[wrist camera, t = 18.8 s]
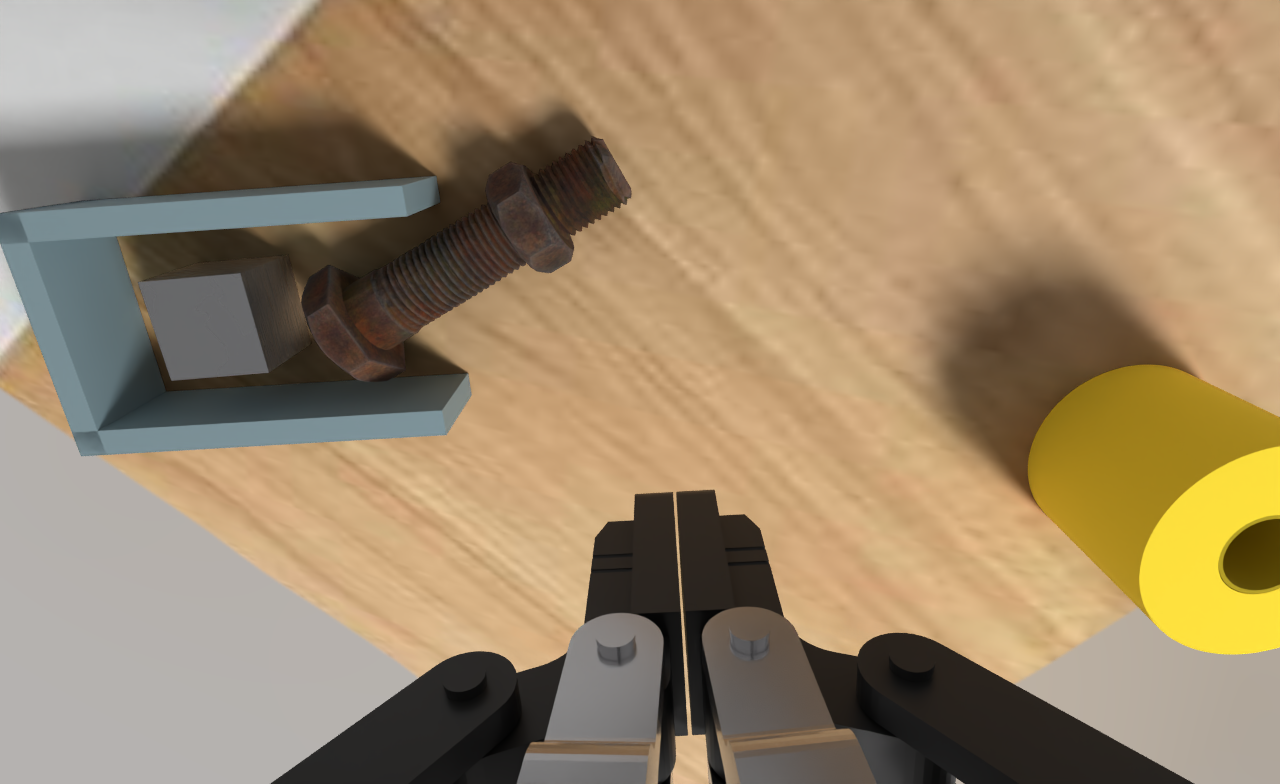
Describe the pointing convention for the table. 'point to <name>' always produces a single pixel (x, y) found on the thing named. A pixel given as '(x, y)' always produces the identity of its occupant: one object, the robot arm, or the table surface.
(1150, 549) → the yellow hollow cylinder
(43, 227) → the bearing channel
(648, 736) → the robot arm
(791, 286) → the table surface
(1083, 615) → the table surface
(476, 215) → the bolt
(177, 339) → the block
